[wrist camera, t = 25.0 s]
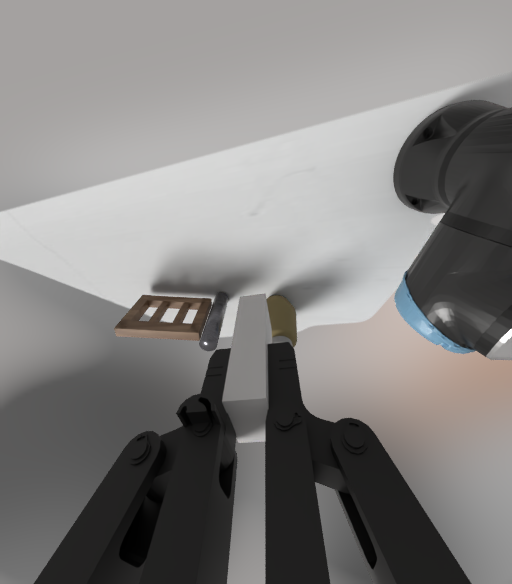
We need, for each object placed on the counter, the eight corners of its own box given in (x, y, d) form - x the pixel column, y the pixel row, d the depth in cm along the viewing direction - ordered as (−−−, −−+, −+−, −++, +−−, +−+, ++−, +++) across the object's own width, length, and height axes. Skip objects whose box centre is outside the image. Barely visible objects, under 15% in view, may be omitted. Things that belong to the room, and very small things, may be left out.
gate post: (226, 291, 51) (214, 337, 38) (229, 302, 52) (218, 350, 40) (213, 292, 51) (197, 339, 38) (217, 303, 53) (202, 351, 40)
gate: (142, 294, 50) (113, 328, 40) (211, 298, 50) (198, 333, 40) (144, 301, 51) (116, 336, 41) (211, 305, 51) (199, 340, 41)
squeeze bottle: (251, 306, 53) (246, 369, 38) (275, 283, 50) (280, 342, 34) (277, 324, 55) (282, 390, 40) (301, 303, 52) (317, 366, 37)
